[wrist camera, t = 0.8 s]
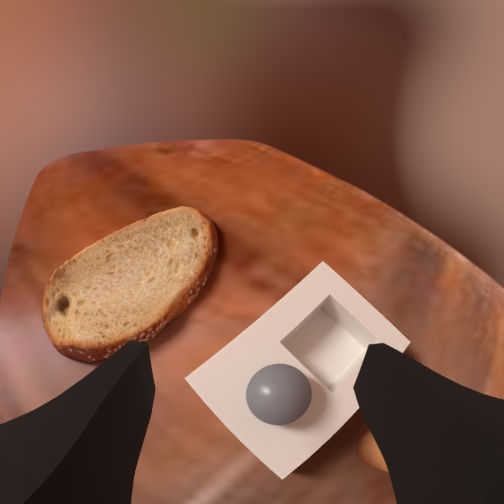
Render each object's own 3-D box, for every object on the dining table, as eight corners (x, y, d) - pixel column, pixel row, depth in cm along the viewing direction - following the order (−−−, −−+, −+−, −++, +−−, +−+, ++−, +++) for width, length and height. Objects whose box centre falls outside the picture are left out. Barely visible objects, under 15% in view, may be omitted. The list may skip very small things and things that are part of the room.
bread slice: (225, 216, 29) (222, 192, 26) (194, 391, 20) (183, 388, 17) (91, 211, 31) (78, 191, 27) (41, 345, 21) (19, 334, 18)
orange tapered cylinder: (406, 437, 17) (454, 441, 11) (376, 472, 15) (417, 489, 9) (379, 413, 18) (423, 411, 12) (346, 449, 17) (382, 462, 11)
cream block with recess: (391, 351, 21) (423, 335, 16) (277, 468, 16) (285, 487, 11) (314, 280, 25) (328, 248, 20) (194, 382, 20) (177, 375, 15)
